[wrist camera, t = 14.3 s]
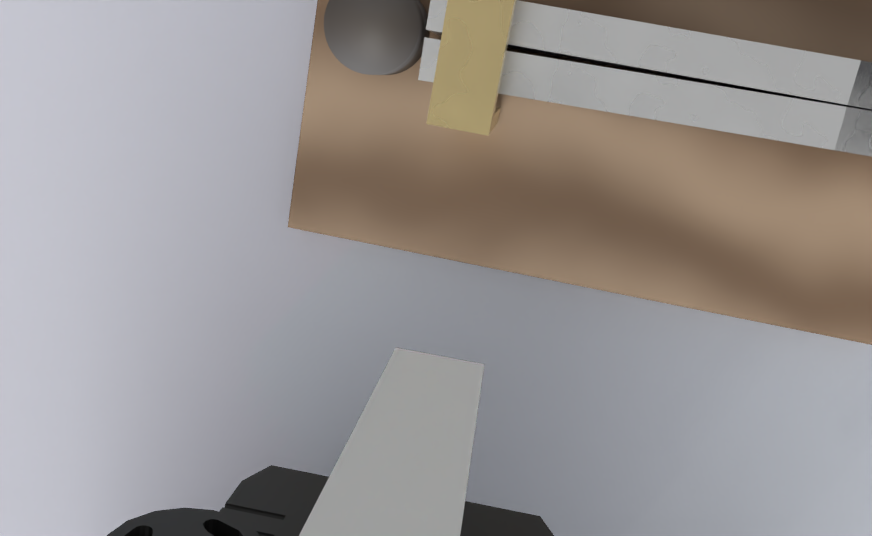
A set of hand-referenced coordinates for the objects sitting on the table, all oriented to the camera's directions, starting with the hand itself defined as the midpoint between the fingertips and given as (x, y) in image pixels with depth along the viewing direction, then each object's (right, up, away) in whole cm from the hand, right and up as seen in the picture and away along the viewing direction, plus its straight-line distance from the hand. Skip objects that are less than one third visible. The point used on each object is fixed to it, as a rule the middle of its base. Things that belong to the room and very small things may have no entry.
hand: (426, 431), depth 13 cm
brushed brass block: (+2, +12, +19) cm, 22 cm away
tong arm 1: (+9, +10, +18) cm, 22 cm away
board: (+8, +11, +19) cm, 24 cm away
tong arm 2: (+9, +11, +18) cm, 23 cm away
